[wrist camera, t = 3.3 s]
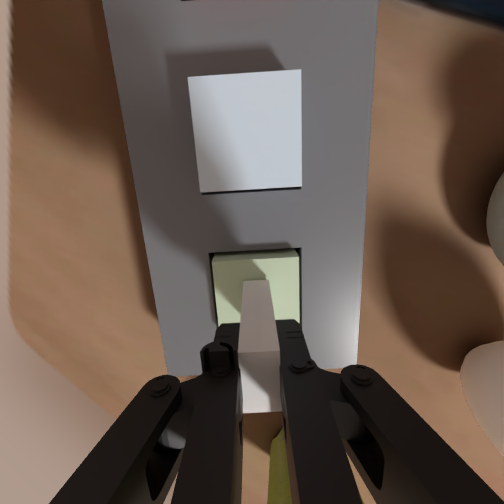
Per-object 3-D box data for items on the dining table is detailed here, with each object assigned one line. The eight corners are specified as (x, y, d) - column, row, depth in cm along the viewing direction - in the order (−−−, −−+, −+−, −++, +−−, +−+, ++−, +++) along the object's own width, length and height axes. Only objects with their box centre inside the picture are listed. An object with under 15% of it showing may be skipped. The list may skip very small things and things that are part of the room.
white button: (199, 94, 15) (187, 76, 12) (291, 88, 15) (301, 69, 12) (209, 188, 16) (200, 192, 14) (293, 183, 16) (302, 186, 14)
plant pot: (344, 396, 25) (391, 511, 16) (358, 470, 27) (405, 602, 19) (243, 416, 25) (238, 537, 17) (266, 487, 28) (273, 621, 20)
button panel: (106, -156, 14) (53, -274, 11) (357, -176, 14) (397, -304, 10) (182, 342, 23) (168, 376, 19) (338, 333, 23) (356, 367, 19)
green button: (217, 247, 19) (211, 261, 16) (291, 243, 19) (298, 256, 16) (224, 313, 20) (219, 337, 17) (292, 309, 20) (299, 333, 17)
